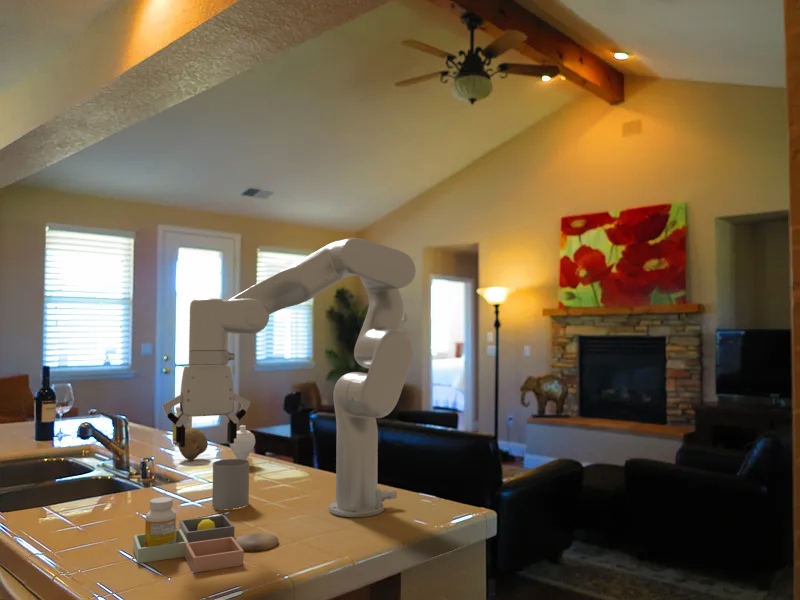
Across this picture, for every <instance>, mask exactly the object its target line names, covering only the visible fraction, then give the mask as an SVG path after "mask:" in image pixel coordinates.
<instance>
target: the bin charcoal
mask: <svg viewBox="0 0 800 600" xmlns="http://www.w3.org/2000/svg"><path fill="white" fill-rule="evenodd" d="M206 519H209V520H211V521H213V522H214V524H215V528H214V529H206V530H199V531H197V527H198V524H199V523H200V522H201V521H202V520H206ZM178 524H179V529H181V530H182V532H183V534H184V535H185V537H186V539H187V541H188V543H190V542H198V541H205V540H212V539H220V538H227V537H233V538H235V526H234V524H233V523H232V522H231V521H230V520H229V518H228V517H227V516H226V515H225V514H220V515H214V516H212V515H211V516H205V517H204V516H203V517H197V518H188V519H186V518H185V519H180V520H179V523H178ZM179 529H178V530H179Z"/></svg>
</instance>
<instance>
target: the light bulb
mask: <svg viewBox="0 0 800 600" xmlns="http://www.w3.org/2000/svg"><path fill="white" fill-rule="evenodd" d="M214 528H215V524H214V522H213V521H211V520H209V519H206V520H202V521H201V522H200V523H199V524H198V527H197V531H199V530H206V529H214Z"/></svg>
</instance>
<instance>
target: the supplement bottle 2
mask: <svg viewBox="0 0 800 600" xmlns="http://www.w3.org/2000/svg"><path fill="white" fill-rule="evenodd" d="M175 411H176V412H175V414H174V415H175V416H176V417H178V416H179V415H180V414H181V413H182V412H181V411H180V405H179V406H175ZM184 427H185V430H187V429H190V428H193V417H191V416H190V417H189V418H188V419H187V420H186V421H185V423H184ZM172 443H173V444H177V445H178V443H176V425H175V424H174V423H173V422H172Z"/></svg>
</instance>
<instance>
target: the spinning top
mask: <svg viewBox="0 0 800 600" xmlns="http://www.w3.org/2000/svg"><path fill="white" fill-rule="evenodd" d="M246 427H247V426H246V425H243V424H241V425H240V426H239V430H237V438H236V439H234V443H233V444H231V443H229V446H230V449H231V451H232V453H233V454H234V456H235V457H236V459H243V460H247V459H248V458H249V456H250V454H251V453H252V451H253V449H254V447H255V445H256V438H255V435H254V434H253V432H251V431H249V430H248V429H246Z"/></svg>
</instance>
